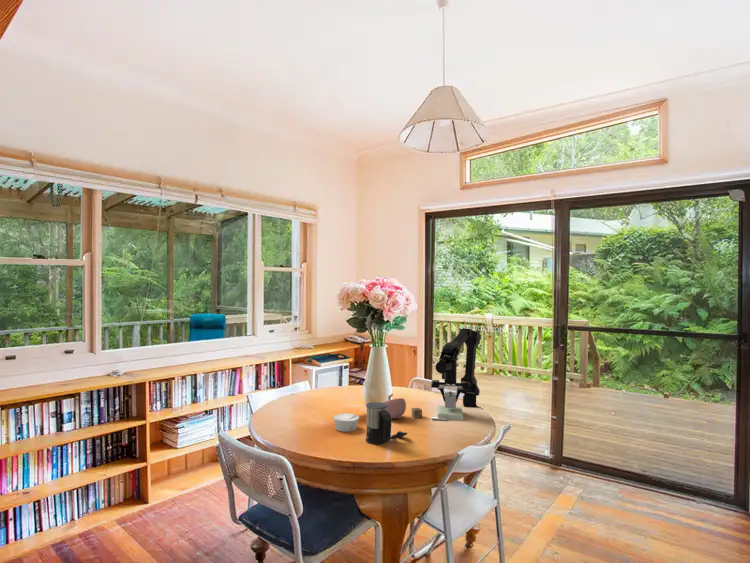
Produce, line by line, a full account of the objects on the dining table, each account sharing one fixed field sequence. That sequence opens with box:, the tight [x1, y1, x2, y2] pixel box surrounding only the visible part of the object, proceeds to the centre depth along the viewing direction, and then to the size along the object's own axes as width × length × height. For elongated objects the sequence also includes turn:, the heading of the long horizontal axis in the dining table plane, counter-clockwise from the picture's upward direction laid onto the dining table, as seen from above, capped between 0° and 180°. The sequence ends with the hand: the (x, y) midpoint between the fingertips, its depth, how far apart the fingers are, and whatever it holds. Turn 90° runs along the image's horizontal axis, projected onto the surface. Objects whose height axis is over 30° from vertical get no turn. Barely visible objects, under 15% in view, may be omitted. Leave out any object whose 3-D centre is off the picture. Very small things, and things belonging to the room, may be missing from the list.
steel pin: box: [431, 416, 448, 422], centre depth 212 cm, size 7×2×2 cm
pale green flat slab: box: [437, 405, 464, 421], centre depth 220 cm, size 12×14×3 cm
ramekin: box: [333, 412, 360, 433], centre depth 198 cm, size 11×11×5 cm
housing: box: [444, 390, 457, 408], centre depth 220 cm, size 5×8×6 cm, turn 172°
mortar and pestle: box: [382, 393, 407, 420], centre depth 214 cm, size 12×12×12 cm
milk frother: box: [365, 401, 408, 445], centre depth 184 cm, size 14×16×15 cm
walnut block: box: [411, 407, 423, 420], centre depth 216 cm, size 4×4×4 cm
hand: (450, 401), depth 220 cm, fingers closed on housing, 5 cm apart
